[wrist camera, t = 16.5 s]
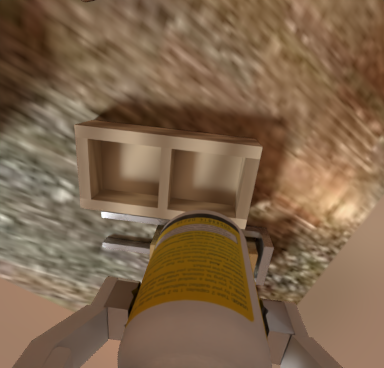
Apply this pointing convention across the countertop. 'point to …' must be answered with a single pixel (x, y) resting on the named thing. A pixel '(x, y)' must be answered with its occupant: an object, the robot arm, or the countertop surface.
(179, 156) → the box
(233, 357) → the supplement bottle
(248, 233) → the socket block
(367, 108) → the countertop surface
